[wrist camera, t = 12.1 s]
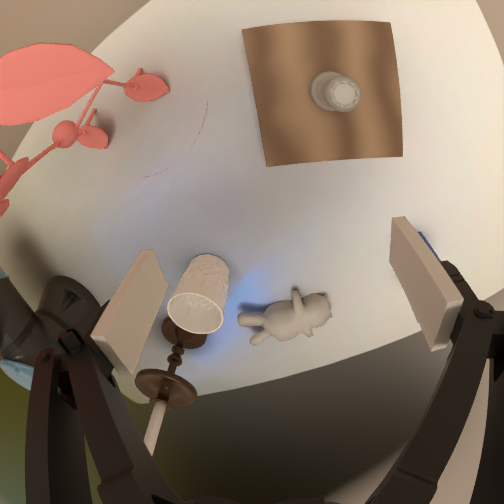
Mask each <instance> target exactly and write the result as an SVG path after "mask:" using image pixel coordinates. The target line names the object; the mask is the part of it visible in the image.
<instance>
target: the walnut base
mask: <svg viewBox="0 0 504 504" xmlns="http://www.w3.org/2000/svg"><path fill="white" fill-rule="evenodd" d="M242 34H243V39H244V44H245V49H246V54H247V59H248V64H249V69H250V75H251V80H252V85H253V91H254V96H255V102H256V108H257V113H258V119H259V125H260V130H261V136H262V142H263V148H264V154H265V160H266V166H267V167H271V166H279V165H288V164H298V163H308V162H319V161H331V160H344V159H360V158H379V157H403V141H402V115H401V100H400V88H399V78H398V69H397V61H396V54H395V47H394V41H393V35H392V29H391V24H390V22H376V21H310V22H296V23H285V24H276V25H268V26H261V27H254V28H248V29H242ZM325 71H333V72H337V73H340V74H341V75H343V76H347V77H350V78H352V79H353V80H354V81H356V82H357V84H358V85H359V87H360V88H361V94H362V97H361V101H360V103H359V105H358V106H357V108H355V109H354V110H352V111H350V112H339V111H328V110H324V109H322V108H320V107H319V106H317V105H316V104H315V103H314V101H313V100H312V99H311V96H310V91H309V88H310V83H311V81H312V80H313V78H314V77H315V76H316V75H318V74H319V73H321V72H325Z"/></svg>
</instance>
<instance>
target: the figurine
mask: <svg viewBox="0 0 504 504" xmlns="http://www.w3.org/2000/svg"><path fill="white" fill-rule="evenodd" d="M141 71H142V69H141V68H139V69H138V71H137V73H136V75H135V77H132V78H131V79H130V80H129V81H128V82H127V83H126V84H125V83H120V82H115V81H110V80H105V79H106V78H108V77H109V76H110V75H111V74H113V73H114V72H115V71H114V70H113V69H112V68H111V67H110V66H108V65H107V64H106V63H105V62H103V61H102V60H101V59H99V58H97V57H95V56H93V55H92V54H90V53H88V52H86V51H84V50H82V49H80V48H78V47H76V46H74V45H72V44H58V43H36V44H32V45H29V46H26V47H22V48H19V49H16V50H13V51H10V52H9V53H7V54H6V55H4V56H3V57H1V58H0V125H11V126H13V125H17V124H22V123H28V122H33V121H38V120H40V119H43V118H45V117H47V116H49V115H51V114H54V113H56V112H58V111H61V110H63V109H65V108H68V107H69V106H71V105H72V104H73V103H74V102H76V101H77V100H78V99H80V98H81V97H82V96H84V95H85V94H87V93H88V92H89V91H91V90H92V89H94V88H95V87H97V86H98V87H97V88H96V90H95V92H94V93H93V95H92V97H91V99H90V100H89V102H88V104H87V105H86V107H85V109H84V111H83V113H82V114H81V116H80V118H79V120H78V122H77V124H75V123H73V122H72V121H68V120H66V121H62V122H60V123H59V124H58V125H57V126H56V127H55V129H54V131H53V134H52V139H53V142H54V144H52V145H51V146H49V147H48V148H47V149H45V150H44V151H43V152H41V153H40V154H39V155H37V156H36V157H35V158H33V159H32V160H31V161H29V162H28V160H29V158H28V157H25V158H22V159H20V160H18V161H16V162H15V163H14V162H13V161H12V160H11V159H10V158H9V157H8V156H6V154H4V153H3V152H2V151H1V150H0V158H1V159H2V160H4V162H6V164H8V165H9V166H10V167H9V168H8V169H7V170H6V171H5V172H4V173H3V174H2V175H1V176H0V217H1V216H2V215H3V214H4V213H5V211H6V210H7V208H8V207H9V200H8V199H6V200H3V199H4V198H5V197H6V196H7V194H8V193H9V192H10V190H11V189H12V188H13V187H14V185H15V184H16V182H17V181H18V180H19V178H20V177H21V175H22V174H24V173H25V172H26V171H27V170H28V169H29V168H30V167H31V166H33V165H34V164H35V163H36V162H37V161H38V160H40V159H41V158H42V157H43V156H44V155H46V154H47V153H48V152H49V151H51V150H52V149H55V148H57V147H60V148H68V147H70V146H71V145H73V144H74V143H75V141H76V140H78V141H79V142H80V143H81V144H82V145H85V146H87V147H90V148H99V149H106V148H107V146H108V136H107V135H106V133H105V131H103V130H102V129H100V128H98V127H95V126H91V125H89V124H90V122H91V120H92V118H93V116H94V114H95V112H96V109H93V110H92V112H91V114H90V116H89V118H88V120H87V122H86V124H85V126H81V128H78V127H79V125H80V123H81V121H82V119H83V118H84V116H85V114H86V112H87V110H88V108H89V107H90V105H91V103H92V101H93V99H94V98H95V96H96V94H97V93H98V91H99V89H100V88H101V86H102V84H103V83H106V84H112V85H117V86H123V87H124V90H125V94H126V96H128V97H130V98H131V99H133V100H135V101H138V102H147V101H151V100H154V99H156V98H158V97H160V96H162V95H164V94H166V93H167V92H169V89H168V87H167V85H166V84H165V83H164V81H163V80H162V79H161V78H160V77H158V76H156V75H154V74H142V75H140V73H141ZM207 104H208V103H207ZM206 111H207V109H206ZM204 120H205V119H204ZM203 123H204V122H203ZM202 126H203V125H202ZM201 129H202V128H201ZM200 131H201V130H200ZM199 133H200V132H199ZM195 141H196V140H195ZM193 144H194V143H193ZM104 146H105V147H104ZM167 169H168V168H167ZM157 174H158V173H157ZM154 175H155V174H154ZM151 176H152V175H151ZM147 177H149V176H147ZM142 178H143V177H142ZM2 200H3V201H2Z"/></svg>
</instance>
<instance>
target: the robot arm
mask: <svg viewBox="0 0 504 504" xmlns="http://www.w3.org/2000/svg"><path fill="white" fill-rule="evenodd" d="M389 262H390V264H391V265H392V267H393V269H394V271H395V273H396V275H397V277H398V279H399V281H400V283H401V285H402V287H403V289H404V291H405V293H406V295H407V298H408V300H409V302H410V304H411V306H412V308H413V310H414V313H415V315H416V317H417V319H418V321H419V324H420V326H421V328H422V331H423V333H424V335H425V338H426V340H427V342H428V345H429V347H430V349H431V351H434V350H438V349H442V348H446V347H447V344H448V342H449V339H451V341H452V343H453V347H452V349H451V352H450V354H449V356H448V359H447V362H446V365H445V367H444V370H443V372H442V374H441V377H440V379H439V381H438V384H437V386H436V389H435V390H434V392H433V395H432V397H431V399H430V401H429V403H428V405H427V407H426V409H425V411H424V413H423V415H422V417H421V419H420V420H419V422H418V424H417V426H416V428H415V430H414V431H413V433H412V435H411V437H410V438H409V440H408V442H407V444H406V445H405V447H404V449H403V450H402V452H401V453H400V455H399V457H398V458H397V460H396V461H395V463H394V464H393V466H392V467H391V469H390V470H389V472H388V473H387V475H386V476H385V478H384V479H383V481H382V482H381V483H380V485H379V486H378V487H377V488H376V490H375V491H374V492H373V493H372V495H371V496H370V497H369V498H368V500H367V501H366V502H365V504H429V503H430V501H431V500H432V498H433V496H434V494H435V492H436V490H437V482H438V480H439V478H440V476H441V474H442V472H443V470H444V469H445V466H446V465H447V463H448V461H449V459H450V457H451V455H452V452H453V450H454V448H455V446H456V444H457V442H458V439H459V437H460V435H461V433H462V430H463V428H464V425H465V423H466V420H467V418H468V415H469V413H470V410H471V407H472V404H473V401H474V399H475V396H476V393H477V390H478V387H479V384H480V380H481V377H482V374H483V370H484V367H485V363H486V359H487V358H488V359H490V367H489V369H490V370H489V397H488V409H487V420H486V428H485V435H484V442H483V448H482V454H481V459H480V464H479V469H478V473H477V478H476V482H475V486H474V490H473V494H472V497H471V500H470V504H504V311H495V310H494V308H493V307H492V306H491V305H490V304H489V303H487V302H485V301H481V300H478V298H477V297H476V295H475V294H474V292H473V291H472V289H471V288H470V286H469V285H468V283H467V282H466V281H465V280H464V278H463V276H462V275H460V272H459V271H458V269H457V268H456V267H455V266H454V265H453V264H451V263H450V262H448V261H441V262H439V261H438V259H437V258H436V257H435V255H434V254H433V252H432V251H431V250H430V248H429V247H428V246H427V244H426V243H425V242H424V240H423V239H422V238H421V236H420V235H419V234H418V232H417V231H416V230H415V229H414V227H413V226H412V225H411V224H410V222H409V221H408V220H407V219H406V217H405V216H403V217H394V218H392V226H391V244H390V258H389ZM167 290H168V285H167V282H166V280H165V278H164V275H163V273H162V271H161V268H160V266H159V263H158V261H157V258H156V256H155V254H154V251H153V249H151V250H144V251H141V252H140V254H139V255H138V257H137V259H136V260H135V262H134V263H133V265H132V266H131V268H130V269H129V271H128V273H127V274H126V276H125V277H124V279H123V281H122V282H121V284H120V285H119V287H118V289H117V290H116V292H115V294H114V295H113V297H112V299H111V300H108V301H107V302H106V303H105V304H104V305H103V306H102V307H101V309H100V306H99V304H98V303H97V301H96V300H95V298H94V297H93V296H92V295H91V293H90V292H89V291H88V290H87V289H85V288H84V287H83V286H82V285H80V284H79V283H77V282H76V281H74V280H72V279H70V278H67V277H63V276H56V277H53V278H52V279H51V280H50V281H49V282H48V283H47V285H46V286H45V288H44V290H43V294H42V296H41V299H40V302H39V306H38V309H37V310H36V312H35V313H34V312H33V310H32V309H31V308H30V306H29V305H28V304H27V303H26V301H25V300H24V299H23V297H22V296H21V295H20V293H19V292H18V291H17V289H16V288H15V287H14V285H13V284H12V282H11V281H10V280H9V276H8V275H6V274H5V273H4V271H3V270H2V269H1V267H0V356H1V357H2V360H1V363H0V367H1V368H2V370H3V371H4V372H5V373H6V374H7V375H8V376H9V377H11V379H13V380H14V381H15V382H17V383H18V384H20V385H21V386H23V387H25V388H26V389H28V390H30V398H29V407H28V416H27V427H26V444H25V488H26V504H93V503H92V497H91V491H90V485H89V478H88V470H87V461H86V451H85V439H84V433H85V437H86V439H87V443H88V446H89V448H90V452H91V454H92V457H93V460H94V462H95V465H96V468H97V471H98V473H99V476H100V478H101V484H99V485H98V493H99V496H100V498H101V500H102V502H103V504H243V503H239V502H236V501H232V500H229V499H226V498H217V497H206V496H199V495H195V498H194V500H190V501H186V502H183V501H182V499H181V498H180V497H179V496H178V495H177V494H176V493H175V492H174V491H173V490H172V489H171V488H170V486H169V485H168V483H167V482H166V480H165V478H164V477H163V475H162V473H161V472H160V470H159V468H158V467H157V465H156V463H155V461H154V459H153V458H152V456H151V454H150V452H149V450H148V448H147V447H146V445H145V443H144V441H143V439H142V437H141V435H140V433H139V431H138V429H137V427H136V425H135V423H134V421H133V419H132V417H131V415H130V412H129V410H128V408H127V406H126V404H125V401H124V399H123V397H122V394H121V392H120V389H119V387H118V385H117V382H116V380H115V377H114V376H113V375H112V373H111V372H112V370H113V368H115V369H116V371H117V372H118V373H119V374H120V375H130V376H133V373H134V371H135V368H136V365H137V363H138V360H139V358H140V355H141V353H142V350H143V347H144V345H145V342H146V340H147V337H148V335H149V332H150V330H151V328H152V325H153V323H154V320H155V318H156V315H157V313H158V311H159V308H160V306H161V304H162V301H163V299H164V297H165V294H166V292H167ZM58 390H59V393H58ZM274 504H339V503H335V502H330V501H324V497H319V498H307V499H290V500H287V501H282V502H278V503H274Z"/></svg>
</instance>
